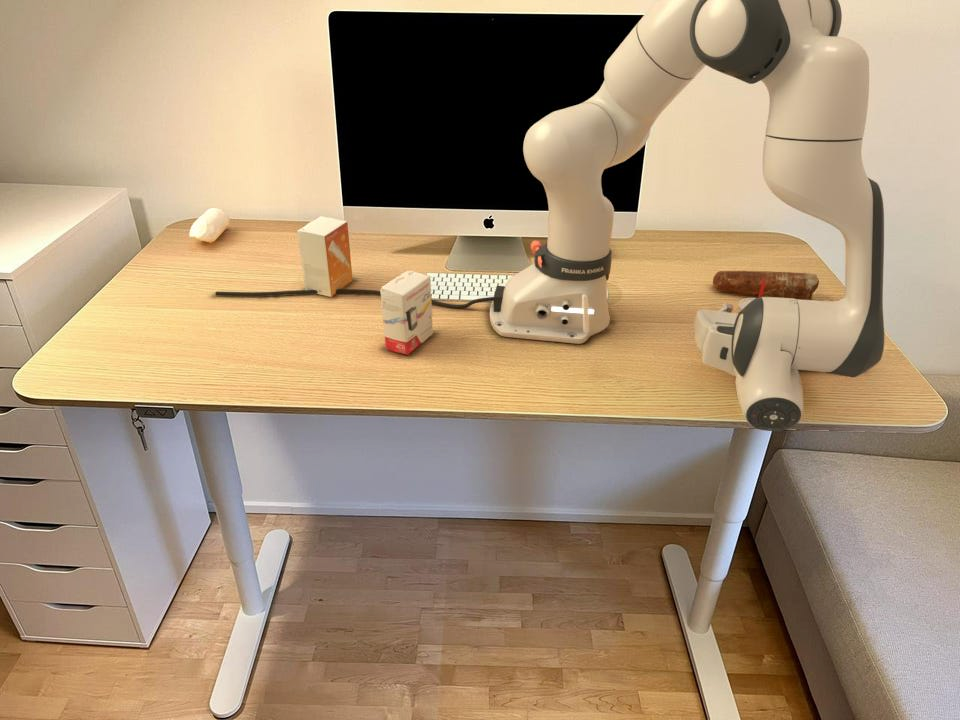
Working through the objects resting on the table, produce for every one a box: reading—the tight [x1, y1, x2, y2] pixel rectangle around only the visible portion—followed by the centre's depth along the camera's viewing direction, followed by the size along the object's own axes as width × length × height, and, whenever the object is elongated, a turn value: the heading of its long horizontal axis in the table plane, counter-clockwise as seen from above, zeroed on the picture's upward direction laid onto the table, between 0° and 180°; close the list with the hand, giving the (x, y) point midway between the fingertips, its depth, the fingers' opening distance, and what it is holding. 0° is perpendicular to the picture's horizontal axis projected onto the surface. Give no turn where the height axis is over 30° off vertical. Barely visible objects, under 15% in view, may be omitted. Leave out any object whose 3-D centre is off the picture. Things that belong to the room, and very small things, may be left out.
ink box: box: [379, 269, 434, 356], centre depth 123 cm, size 9×5×12 cm, turn 150°
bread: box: [712, 270, 820, 300], centre depth 141 cm, size 6×19×6 cm, turn 74°
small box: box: [296, 215, 354, 298], centre depth 139 cm, size 8×6×13 cm
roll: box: [189, 207, 231, 244], centre depth 158 cm, size 6×12×6 cm, turn 176°
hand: (755, 310), depth 120 cm, fingers open, 8 cm apart
